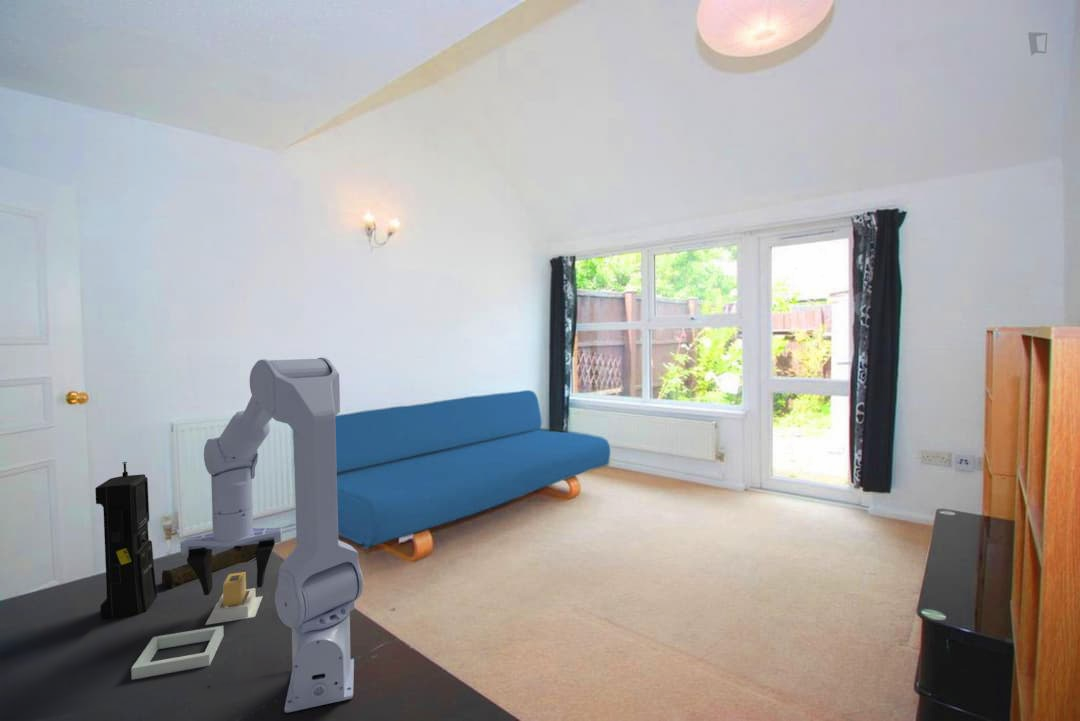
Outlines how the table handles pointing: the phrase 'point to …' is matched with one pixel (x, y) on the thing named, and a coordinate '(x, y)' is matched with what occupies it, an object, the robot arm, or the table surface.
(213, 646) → the parts tray
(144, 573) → the portable radio
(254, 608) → the white open box
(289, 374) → the robot arm
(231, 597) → the block
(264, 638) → the table surface
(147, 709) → the table surface
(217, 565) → the dark brown log
